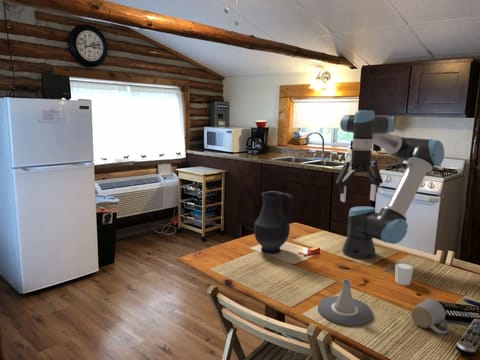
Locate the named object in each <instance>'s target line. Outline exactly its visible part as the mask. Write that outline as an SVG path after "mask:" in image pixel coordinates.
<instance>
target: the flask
mask: <svg viewBox="0 0 480 360" xmlns="http://www.w3.org/2000/svg"><path fill="white" fill-rule="evenodd" d="M341 283H342V287H341V290H340V293H339V295H338V296H339V297H338V299H337V301H336V303H335V305H334V307H335V309H336V310H337V311H340V312H343V313H354V311H355V309H356V308H355V305H354V301H353V299H354V298H353V295H352V289H351V285H352V283H353V282H352V280H349V279H342V280H341Z"/></svg>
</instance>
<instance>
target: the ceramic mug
mask: <svg viewBox="0 0 480 360" xmlns="http://www.w3.org/2000/svg"><path fill="white" fill-rule="evenodd" d="M410 315H411V319H412V321H413V322H414V323H415V324H416V326H418V327H420V328H422V329H428V328H429V329H432V330H433V331H434V332H436V333H437V334H439V335H446V334H447V333H448V332H449V331H450V326H449V324H448V322H447V321H446V311H445V308H444V307H443V305H442V304H441V303H440V301H438V300H437V299H435V298H426V299H425V300H423V301H421V302H419V303H418V304H416V305H414V307H413V308H412V309H411V312H410ZM440 323H441V324H442V325H443V327H444V328H445V330H442V329H439V328H438V327H436V326H435V325H437V324H440Z"/></svg>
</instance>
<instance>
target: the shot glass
mask: <svg viewBox="0 0 480 360" xmlns="http://www.w3.org/2000/svg"><path fill="white" fill-rule="evenodd" d="M394 267H395V269H394V270H395V273H394V275H395V276H394V277H395V278H394V279H395V280H394V281H395V283H397V284H398V285H401V286H410V285H411V282H412V278H413V273H414V266H413V265H411V264H408V263H405V262H404V263H403V262H397V263H395V265H394Z"/></svg>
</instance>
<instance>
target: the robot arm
mask: <svg viewBox="0 0 480 360" xmlns="http://www.w3.org/2000/svg"><path fill="white" fill-rule="evenodd" d="M394 124H395V123H394V120H393V118H392V117H390V116H388V115H376V114H375V111H374V110H366V109H363V110H359V109H357V110H356V111H355V113H354V114H345V115H343V116H342V117H341V119H340V123H339V126H340V127H339V128H340V129H341V131H343V132H347V133H352V134H353V136H352V146H351V148H352V150H351V161H347V160H344V161H343V166H342V168H341V170H340V172H339V174H338V176H337V178H336V180H335V184H336V185H339V187H338V188H339V190H338V193H339V194H340V202H342V203H345V202H346V200H347V199H346V196H347V183H348V182H349V181H350V180H351V178H352V177H353V176H354V175H356V173H365V174H366V175H367V177H368V178H369V180H370V181H371V182H372V183H371V184H370V193H369V200H371V201H373V202H375V201H376V195H377V193H378V190H379V189H378V188H379V186H380V185H381V184H383V183H384V181H383V178H382V175H381V172H380V170H379V167H378V166H379V165H378V161H376V160H372V161H371V159H372V150H371V149H373V144H374V145H376V146H378V147H380V148H381V149H383V150H384V152H386V154H389V155H391V156H393V157H395V159H399V160H401V161H404V162H407V167H405V168H406V169H405V170H404V173H403V175H402V176H401V178H400V180H399V182H398V184H397V186H396V187H395V190H394V192H393V193H392V196H391V197H390V199H389V200H388V203H387V205H386V206H383V207H381V209H380V210H379V212H376V208H375V207H373V206H364V205H363V206H354V207H351V208H350V209H349V212H348V221H347V236H346V239H345V241H344V243H343V246H342V253H343V254H344V256H347V257H350V258H353V259H358V260H369V259H373V258H374V257H376V248H375V245H374V241H373V239H376V240H379V241H381V242H384V243H387V244H394V245H395V244H399V243H400V242H401V241H403V239H404V238H405V237H406V235H407V232H408V229H409V226H408V225H409V224H408V222H407V217H406V214H407V212H408V210H409V209H410V206H411V204H412V203H413V200H414V198H415V197H416V195H417V192H418V191H419V188H420V187H421V184H422V183H423V181H424V178H425V177H426V175H427V173H428V172H429V173H430V172H432V171H433V169H434V167H436V166H441V164H443V161H444V158H445V146H444V144H443V143H442V142H441V141H440V140H439V139H433V138H431V139H429V138H428V139H427V138H416V137H406V136H405V137H404V136H400V135H397V134H391V132H392V130H393V128H394ZM370 167H371V168H370Z"/></svg>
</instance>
